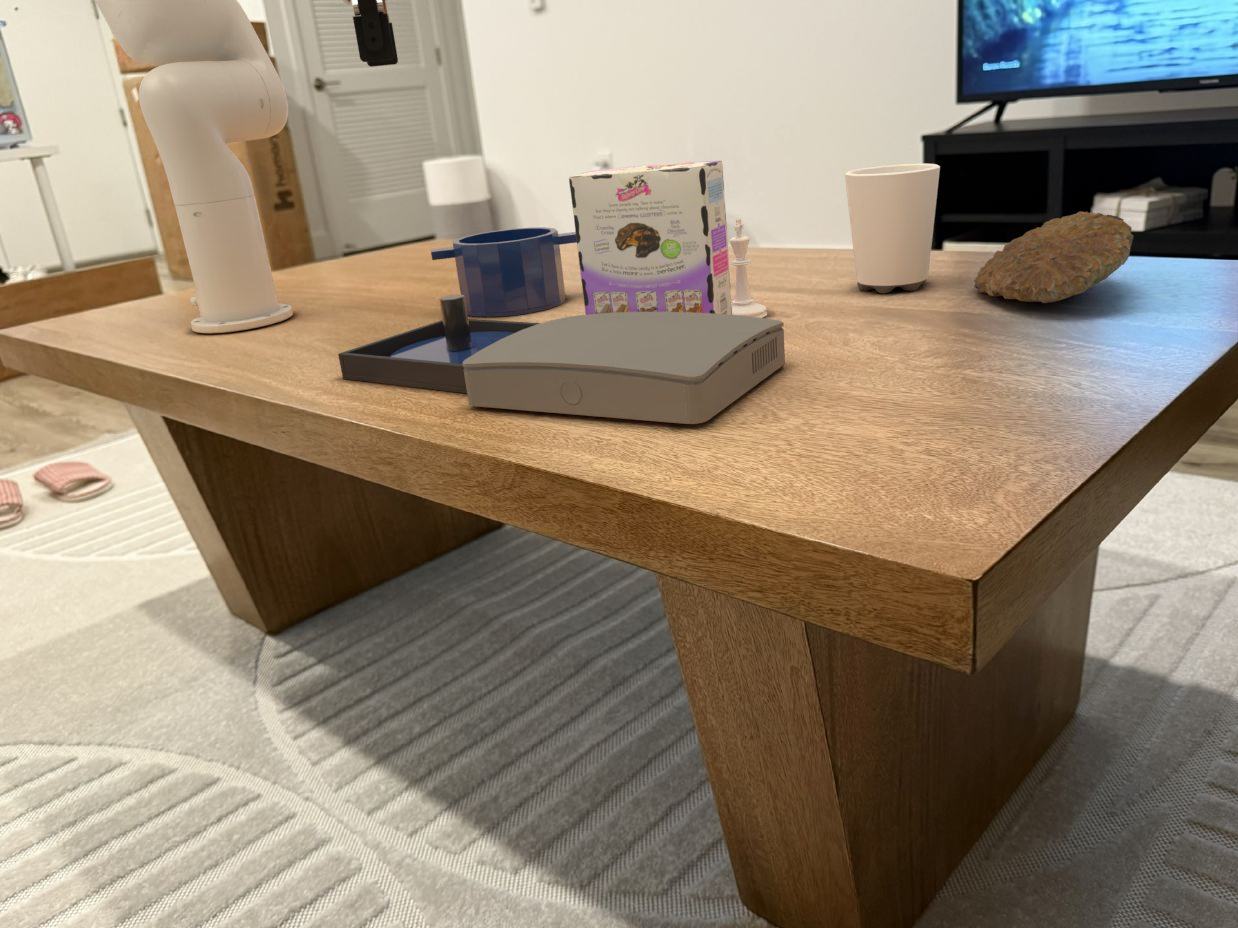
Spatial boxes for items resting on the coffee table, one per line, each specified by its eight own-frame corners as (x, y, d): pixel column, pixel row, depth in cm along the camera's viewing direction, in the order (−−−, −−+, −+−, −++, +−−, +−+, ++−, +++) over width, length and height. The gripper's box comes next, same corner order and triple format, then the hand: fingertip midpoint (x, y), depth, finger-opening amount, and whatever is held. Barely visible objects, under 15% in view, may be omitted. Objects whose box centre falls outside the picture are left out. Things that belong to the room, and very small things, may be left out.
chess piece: (714, 321, 102) (708, 224, 99) (727, 311, 107) (722, 216, 103) (760, 321, 100) (755, 221, 97) (772, 310, 105) (768, 214, 101)
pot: (441, 305, 126) (430, 238, 123) (579, 287, 129) (572, 221, 126) (441, 325, 115) (429, 251, 112) (593, 305, 117) (585, 232, 114)
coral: (990, 260, 109) (1105, 162, 99) (1045, 323, 108) (1167, 230, 98) (925, 299, 96) (1051, 189, 85) (988, 371, 94) (1123, 268, 84)
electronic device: (585, 350, 96) (579, 299, 95) (796, 359, 86) (794, 302, 84) (463, 409, 81) (453, 350, 79) (701, 430, 70) (696, 362, 69)
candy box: (735, 330, 98) (725, 158, 92) (715, 345, 93) (703, 164, 87) (610, 329, 104) (593, 167, 98) (585, 343, 99) (566, 174, 93)
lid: (394, 353, 101) (383, 294, 99) (525, 335, 103) (517, 277, 101) (387, 387, 88) (375, 320, 86) (537, 366, 90) (529, 300, 88)
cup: (950, 291, 105) (952, 167, 100) (857, 300, 105) (855, 177, 101) (924, 275, 114) (925, 161, 110) (839, 283, 115) (836, 170, 110)
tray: (342, 378, 95) (337, 353, 94) (452, 340, 106) (449, 317, 106) (472, 394, 85) (468, 366, 84) (578, 350, 97) (575, 325, 96)
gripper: (317, -109, 101) (350, 70, 107) (294, -151, 85) (334, 62, 91) (391, -114, 102) (419, 63, 108) (382, -157, 86) (416, 54, 92)
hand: (380, 63), depth 99 cm, fingers open, 9 cm apart
